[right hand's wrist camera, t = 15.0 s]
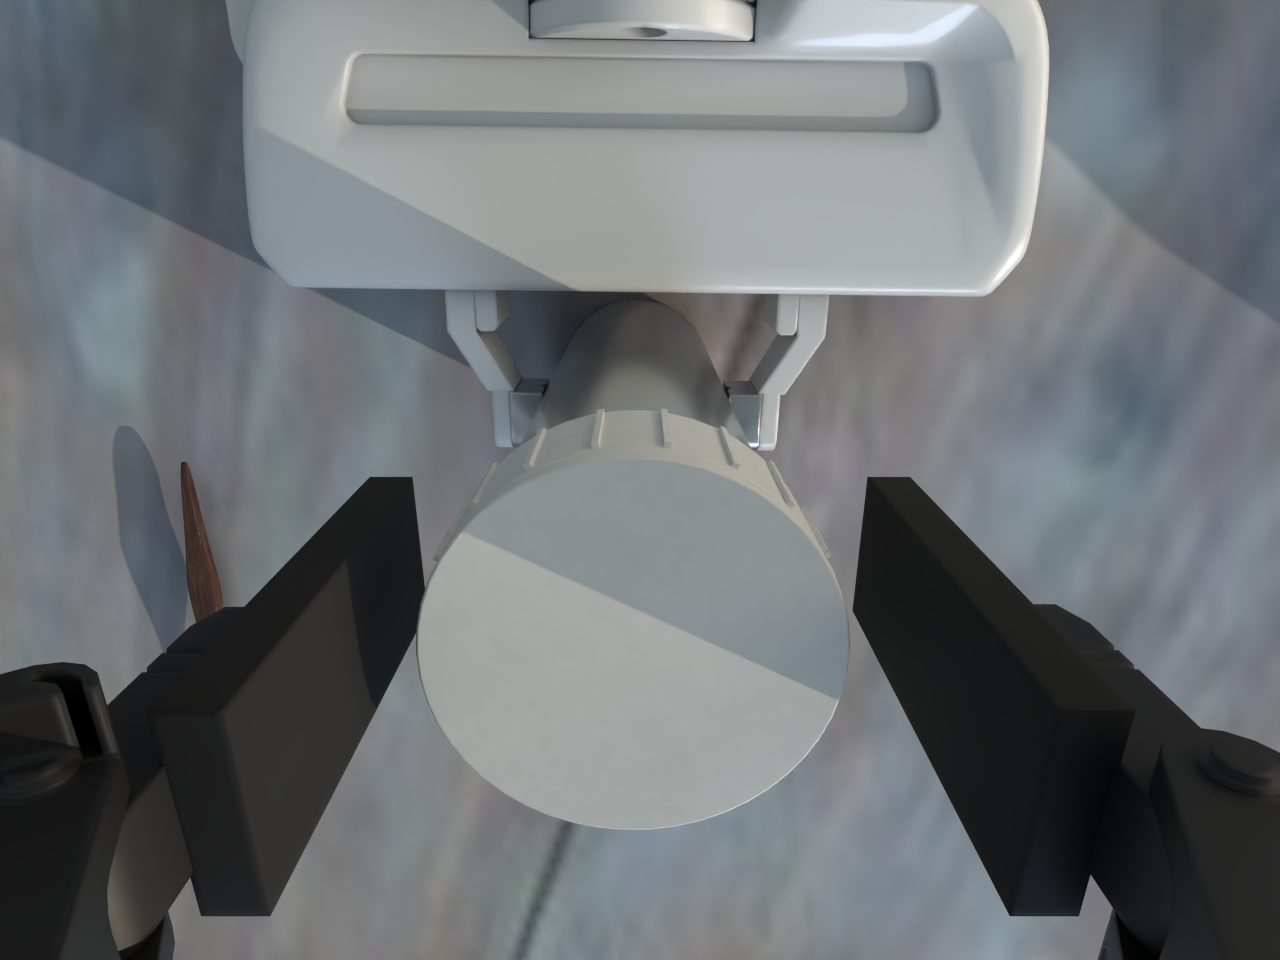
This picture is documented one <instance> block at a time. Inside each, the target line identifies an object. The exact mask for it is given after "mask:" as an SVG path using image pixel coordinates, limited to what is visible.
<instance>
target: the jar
mask: <svg viewBox="0 0 1280 960" xmlns="http://www.w3.org/2000/svg"><path fill="white" fill-rule="evenodd" d="M661 408H662V409H667V410H668V413H670V414H675V415H679V416H683V417H687V418H691V419H694V420H697V421H700V422H702V423H705V424H707V425H710V426H713V427H715V428H717V429H719V428H720V426H722V427H724V428H726V429H727V431H728V434H729V435H730V436H732V437H734V438H736V439H738V440H739V441H740V442H742V443H743V444H745V445H746V446H747V447H749V448H750V449H751V447H750V445H749V443H748V441H747V438H746V436H745V434H744V432H743V430H742V428H741V425H740V423H739V421H738V419H737V417H736V414H735V412H734V410H733V408H732V406H731V403H730V401H729V399H728V397H727V395H726V393H725V390H724V388H723V386H722V384H721V382H720V379H719V377H718V375H717V373H716V371H715V369H714V366H713V364H712V362H711V360H710V358H709V355H708V353H707V351H706V349H705V347H704V344H703V342H702V340H701V338H700V337H699V335H698V333H697V331H696V330H695V329H694V327H693V326H692V325H691V324H690V323H689V322H688V321H687V320H686V319H685V318H684V317H683V316H682V315H681V314H679V313H678V312H677V311H675V310H673V309H671V308H670V307H668V306H665V305H663V304H660V303H657V302H653V301H650V300H641V299H631V300H623V301H619V302H615V303H612V304H609V305H607V306H605V307H602V308H601V309H599V310H597V311H596V312H594V313H593V314H592V315H590V316H589V317H588V318H587V319H586V320H585V321H584V322H583V323H582V324H581V325H580V326H579V328H578V329H577V331H576V332H575V333H574V335H573V337H572V339H571V341H570V343H569V345H568V347H567V349H566V351H565V353H564V355H563V357H562V359H561V361H560V364H559V366H558V368H557V370H556V372H555V374H554V376H553V378H552V380H551V382H550V384H549V386H548V388H547V390H546V392H545V394H544V396H543V399H542V401H541V403H540V405H539V407H538V409H537V411H536V413H535V415H534V417H533V419H532V421H531V423H530V425H529V427H528V429H527V432H526V434H525V436H524V438H523V440H522V442H521V444H520V446H521V445H522V444H523V443H525V442H527V441H528V440H530V439H532V438H533V437H535V436H536V434H537V432H538V430H539V429H541V428H543V427H544V428H545V429H546V430H548V429H550V428H552V427H555V426H557V425H559V424H562V423H564V422H567V421H570V420H573V419H577V418H580V417H584V416H588V415H591V414H597V410H598V409H604V411H605V412H611V411H624V410H646V411H655V412H660V409H661ZM751 450H752V449H751Z"/></svg>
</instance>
